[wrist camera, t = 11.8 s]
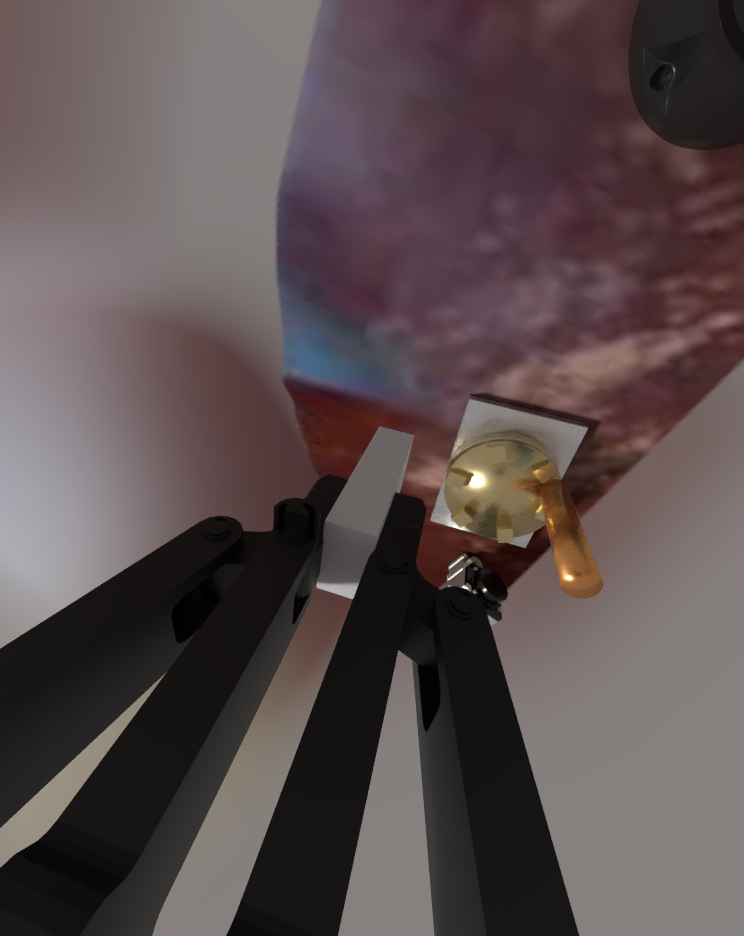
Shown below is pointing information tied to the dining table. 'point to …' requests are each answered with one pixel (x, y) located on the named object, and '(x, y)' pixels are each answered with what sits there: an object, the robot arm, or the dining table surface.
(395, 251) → the dining table surface
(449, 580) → the pneumatic valve
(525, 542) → the flange plate
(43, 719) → the robot arm
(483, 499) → the brass lugged disc
